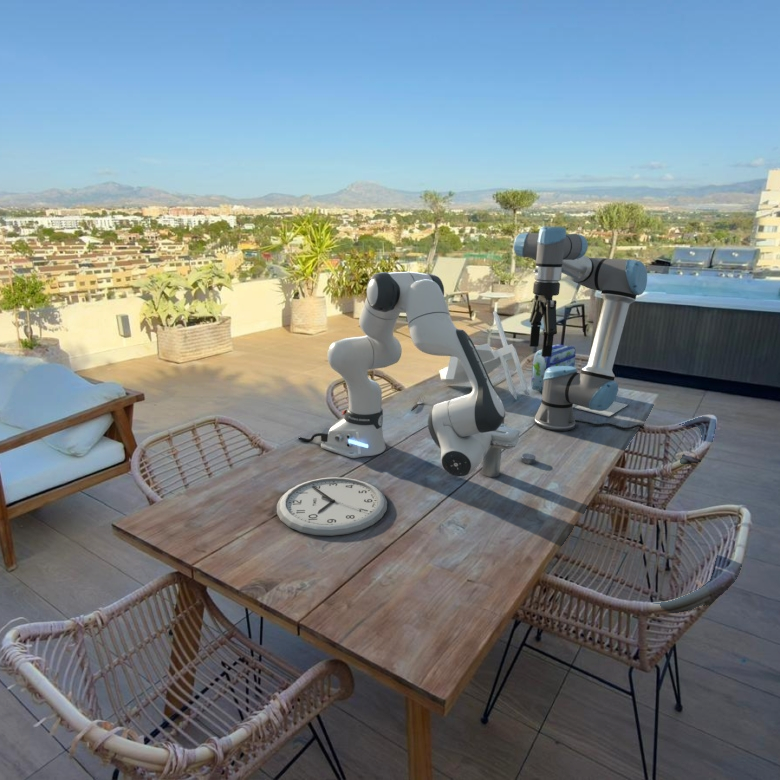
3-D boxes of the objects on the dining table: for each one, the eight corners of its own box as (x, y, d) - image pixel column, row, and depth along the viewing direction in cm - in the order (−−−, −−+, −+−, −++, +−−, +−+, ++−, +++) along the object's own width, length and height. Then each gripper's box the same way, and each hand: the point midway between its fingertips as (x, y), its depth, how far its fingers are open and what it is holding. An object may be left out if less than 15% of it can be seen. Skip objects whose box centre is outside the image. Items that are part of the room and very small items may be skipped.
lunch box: (547, 397, 237) (552, 352, 231) (526, 391, 245) (531, 348, 238) (574, 386, 255) (580, 344, 249) (554, 381, 262) (559, 340, 256)
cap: (532, 465, 169) (533, 460, 169) (519, 461, 171) (520, 456, 171) (536, 460, 173) (537, 455, 172) (523, 457, 175) (524, 452, 174)
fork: (408, 411, 216) (408, 407, 215) (419, 400, 230) (419, 396, 229) (414, 412, 215) (414, 407, 214) (425, 401, 229) (425, 396, 229)
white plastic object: (461, 429, 252) (437, 405, 227) (444, 352, 274) (420, 323, 250) (535, 404, 240) (518, 377, 215) (510, 326, 262) (492, 293, 237)
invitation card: (608, 416, 214) (573, 407, 224) (608, 416, 214) (573, 408, 224) (628, 404, 229) (594, 396, 238) (628, 405, 229) (594, 397, 238)
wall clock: (392, 527, 129) (268, 531, 127) (391, 533, 130) (269, 537, 127) (383, 473, 158) (282, 475, 155) (383, 478, 158) (282, 480, 156)
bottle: (480, 474, 162) (485, 401, 155) (484, 468, 167) (490, 396, 159) (496, 478, 160) (503, 404, 153) (501, 471, 164) (507, 399, 157)
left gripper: (515, 436, 130) (525, 418, 142) (437, 423, 138) (453, 407, 150) (513, 459, 132) (523, 440, 144) (436, 445, 140) (452, 428, 152)
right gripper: (523, 277, 167) (517, 342, 173) (546, 285, 143) (539, 360, 149) (547, 277, 167) (540, 342, 173) (574, 285, 143) (565, 361, 149)
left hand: (486, 423), depth 147 cm, fingers open, 8 cm apart
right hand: (539, 351), depth 161 cm, fingers open, 13 cm apart
